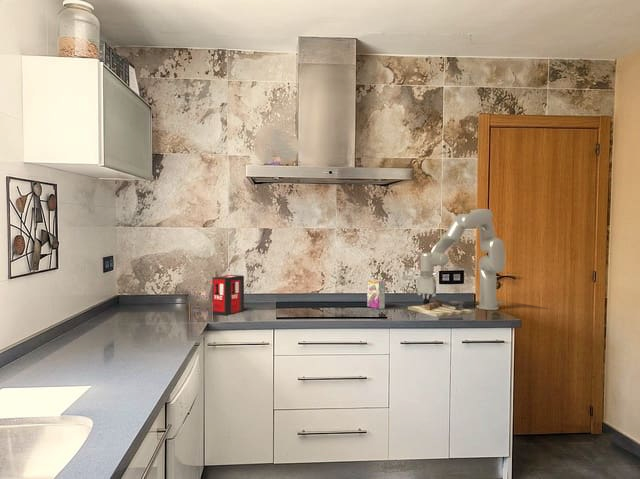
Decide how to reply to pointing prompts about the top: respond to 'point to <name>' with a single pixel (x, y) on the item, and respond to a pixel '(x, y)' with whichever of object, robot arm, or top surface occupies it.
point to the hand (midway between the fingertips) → (426, 305)
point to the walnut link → (433, 304)
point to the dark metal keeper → (457, 304)
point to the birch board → (440, 310)
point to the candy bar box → (376, 294)
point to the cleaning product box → (228, 294)
